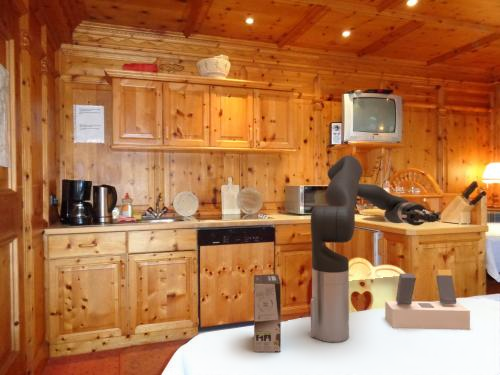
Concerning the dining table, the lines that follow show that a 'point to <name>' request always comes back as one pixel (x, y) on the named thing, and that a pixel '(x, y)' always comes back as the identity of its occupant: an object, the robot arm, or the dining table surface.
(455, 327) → the beige lever base
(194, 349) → the dining table surface
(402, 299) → the lever left
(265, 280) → the coffee box
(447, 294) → the lever right
